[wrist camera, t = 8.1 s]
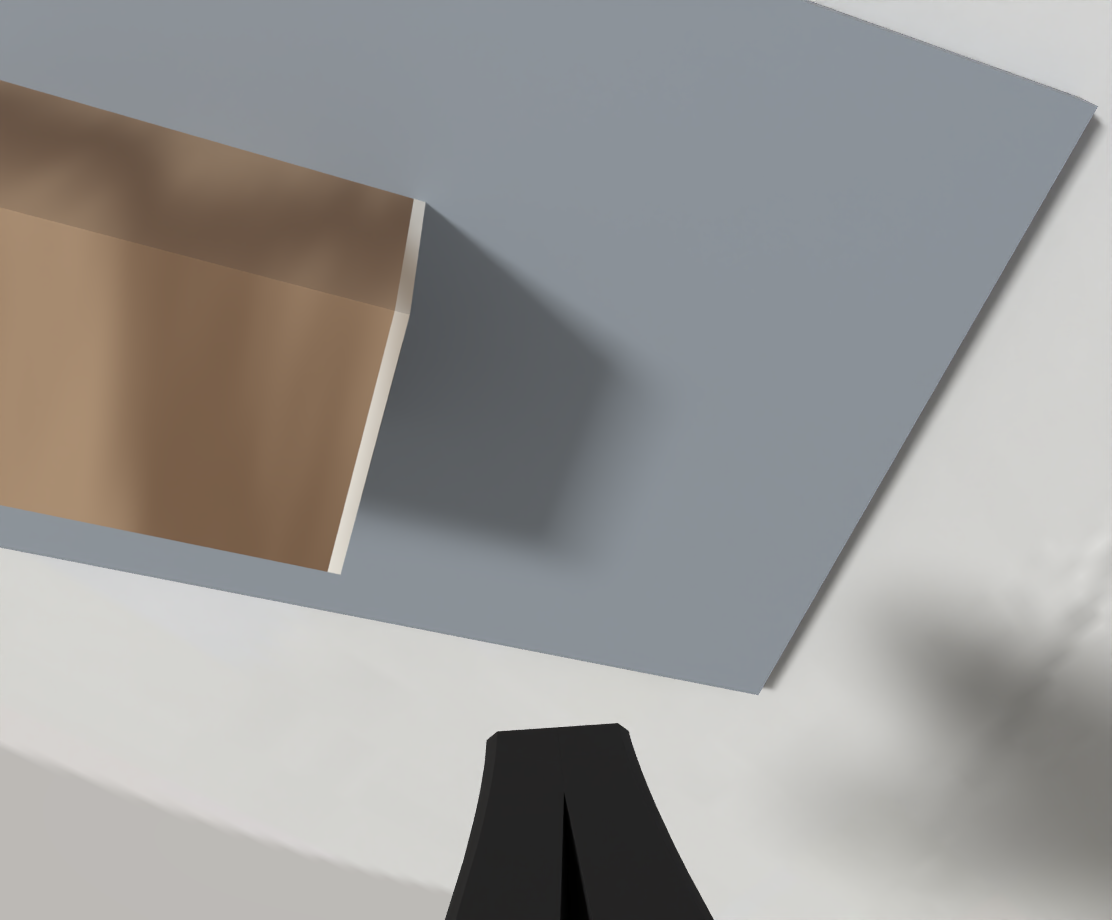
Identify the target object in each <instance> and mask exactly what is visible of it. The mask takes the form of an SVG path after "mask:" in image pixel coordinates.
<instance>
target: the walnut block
mask: <svg viewBox="0 0 1112 920" xmlns="http://www.w3.org/2000/svg"><path fill="white" fill-rule="evenodd" d="M425 203H426V202H423V201H420V200H416V199H413V198H409V197H406V196H402V195H399V194H395V193H392V192H388V191H385V190H381V189H378V188H374V187H371V186H367V185H364V184H361V183H357V182H354V181H350V180H347V179H343V178H340V177H336V176H333V175H329V174H326V173H322V172H319V171H315V170H312V169H308V168H305V167H301V166H298V165H294V164H291V163H287V162H284V161H280V160H277V159H273V158H270V157H266V156H263V155H260V154H256V153H253V152H249V151H246V150H242V149H239V148H235V147H232V146H228V145H225V144H221V143H218V142H214V141H211V140H207V139H204V138H200V137H197V136H193V135H190V134H186V133H183V132H179V131H176V130H172V129H169V128H165V127H162V126H159V125H155V124H152V123H148V122H145V121H141V120H138V119H134V118H131V117H127V116H124V115H120V114H117V113H113V112H110V111H106V110H103V109H99V108H96V107H92V106H89V105H85V104H82V103H78V102H75V101H71V100H68V99H64V98H61V97H57V96H54V95H51V94H47V93H44V92H40V91H37V90H33V89H30V88H26V87H23V86H19V85H16V84H12V83H9V82H5V81H2V80H0V505H2V506H7V507H12V508H17V509H22V510H26V511H31V512H36V513H41V514H46V515H51V516H56V517H61V518H66V519H71V520H75V521H80V522H85V523H90V524H95V525H100V526H105V527H110V528H115V529H120V530H125V531H129V532H134V533H139V534H144V535H149V536H154V537H159V538H164V539H169V540H174V541H178V542H183V543H188V544H193V545H198V546H203V547H208V548H213V549H218V550H223V551H227V552H232V553H237V554H242V555H247V556H252V557H257V558H262V559H267V560H272V561H276V562H281V563H286V564H291V565H296V566H301V567H306V568H311V569H316V570H321V571H325V572H330V573H335V574H340V575H341V571H342V567H343V564H344V560H345V556H346V552H347V549H348V545H349V541H350V537H351V534H352V530H353V526H354V522H355V519H356V515H357V511H358V507H359V504H360V500H361V498H362V494H363V490H364V486H365V483H366V479H367V475H368V472H369V468H370V464H371V460H372V457H373V453H374V449H375V445H376V442H377V438H378V434H379V430H380V427H381V423H382V419H383V415H384V412H385V408H386V404H387V400H388V397H389V393H390V389H391V385H392V382H393V378H394V374H395V370H396V367H397V363H398V359H399V355H400V352H401V348H402V344H403V339H404V335H405V331H406V327H407V324H408V320H409V316H410V310H411V303H412V296H413V289H414V281H415V274H416V267H417V260H418V253H419V246H420V238H421V231H422V224H423V217H424V210H425Z"/></svg>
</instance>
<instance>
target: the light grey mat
mask: <svg viewBox="0 0 1112 920" xmlns="http://www.w3.org/2000/svg"><path fill="white" fill-rule="evenodd" d="M0 80H2V81H5V82H9V83H12V84H16V85H19V86H23V87H26V88H30V89H33V90H37V91H40V92H44V93H47V94H51V95H54V96H57V97H61V98H64V99H68V100H71V101H75V102H78V103H82V104H85V105H89V106H92V107H96V108H99V109H103V110H106V111H110V112H113V113H117V114H120V115H124V116H127V117H131V118H134V119H138V120H141V121H145V122H148V123H152V124H155V125H159V126H162V127H165V128H169V129H172V130H176V131H179V132H183V133H186V134H190V135H193V136H197V137H200V138H204V139H207V140H211V141H214V142H218V143H221V144H225V145H228V146H232V147H235V148H239V149H242V150H246V151H249V152H253V153H256V154H260V155H263V156H266V157H270V158H273V159H277V160H280V161H284V162H287V163H291V164H294V165H298V166H301V167H305V168H308V169H312V170H315V171H319V172H322V173H326V174H329V175H333V176H336V177H340V178H343V179H347V180H350V181H354V182H357V183H361V184H364V185H367V186H371V187H374V188H378V189H381V190H385V191H388V192H392V193H395V194H399V195H402V196H406V197H409V198H413V199H416V200H420V201H423V202H426V203H425V210H424V217H423V224H422V231H421V238H420V246H419V253H418V260H417V267H416V274H415V281H414V289H413V296H412V303H411V310H410V316H409V320H408V324H407V327H406V331H405V335H404V339H403V344H402V348H401V352H400V355H399V359H398V363H397V367H396V370H395V374H394V378H393V382H392V385H391V389H390V393H389V397H388V400H387V404H386V408H385V412H384V415H383V419H382V423H381V427H380V430H379V434H378V438H377V442H376V445H375V449H374V453H373V457H372V460H371V464H370V468H369V472H368V475H367V479H366V483H365V486H364V490H363V494H362V498H361V500H360V504H359V507H358V511H357V515H356V519H355V522H354V526H353V530H352V534H351V537H350V541H349V545H348V549H347V552H346V556H345V560H344V564H343V567H342V571H341V575H340V574H335V573H330V572H325V571H321V570H316V569H311V568H306V567H301V566H296V565H291V564H286V563H281V562H276V561H272V560H267V559H262V558H257V557H252V556H247V555H242V554H237V553H232V552H227V551H223V550H218V549H213V548H208V547H203V546H198V545H193V544H188V543H183V542H178V541H174V540H169V539H164V538H159V537H154V536H149V535H144V534H139V533H134V532H129V531H125V530H120V529H115V528H110V527H105V526H100V525H95V524H90V523H85V522H80V521H75V520H71V519H66V518H61V517H56V516H51V515H46V514H41V513H36V512H31V511H26V510H22V509H17V508H12V507H7V506H2V505H0V547H1V548H6V549H11V550H16V551H21V552H26V553H31V554H37V555H42V556H47V557H52V558H57V559H62V560H67V561H73V562H78V563H83V564H88V565H93V566H98V567H103V568H108V569H114V570H119V571H124V572H129V573H134V574H139V575H144V576H150V577H155V578H160V579H165V580H170V581H175V582H180V583H186V584H191V585H196V586H201V587H206V588H211V589H216V590H221V591H227V592H232V593H237V594H242V595H247V596H252V597H257V598H263V599H268V600H273V601H278V602H283V603H288V604H293V605H298V606H304V607H309V608H314V609H319V610H324V611H329V612H334V613H340V614H345V615H350V616H355V617H360V618H365V619H370V620H376V621H381V622H386V623H391V624H396V625H401V626H406V627H411V628H417V629H422V630H427V631H432V632H437V633H442V634H447V635H453V636H458V637H463V638H468V639H473V640H478V641H483V642H489V643H494V644H499V645H504V646H509V647H514V648H519V649H524V650H530V651H535V652H540V653H545V654H550V655H555V656H560V657H566V658H571V659H576V660H581V661H586V662H591V663H596V664H601V665H607V666H612V667H617V668H622V669H627V670H632V671H637V672H643V673H648V674H653V675H658V676H663V677H668V678H673V679H679V680H684V681H689V682H694V683H699V684H704V685H709V686H714V687H720V688H725V689H730V690H735V691H740V692H745V693H750V694H756V695H759V693H760V691H761V689H762V688H763V686H764V684H765V683H766V681H767V679H768V677H769V676H770V674H771V672H772V670H773V669H774V667H775V665H776V664H777V662H778V660H779V658H780V657H781V655H782V653H783V651H784V650H785V648H786V646H787V644H788V643H789V641H790V639H791V638H792V636H793V634H794V632H795V631H796V629H797V627H798V625H799V624H800V622H801V620H802V618H803V617H804V615H805V613H806V612H807V610H808V608H809V606H810V605H811V603H812V601H813V599H814V598H815V596H816V594H817V592H818V591H819V589H820V587H821V586H822V584H823V582H824V580H825V579H826V577H827V575H828V573H829V572H830V570H831V568H832V566H833V565H834V563H835V561H836V560H837V558H838V556H839V554H840V553H841V551H842V549H843V547H844V546H845V544H846V542H847V540H848V539H849V537H850V535H851V534H852V532H853V530H854V528H855V527H856V525H857V523H858V521H859V520H860V518H861V516H862V514H863V513H864V511H865V509H866V508H867V506H868V504H869V502H870V501H871V499H872V497H873V495H874V494H875V492H876V490H877V488H878V487H879V485H880V483H881V482H882V480H883V478H884V476H885V475H886V473H887V471H888V469H889V468H890V466H891V464H892V463H893V461H894V459H895V457H896V456H897V454H898V452H899V450H900V449H901V447H902V445H903V443H904V442H905V440H906V438H907V437H908V435H909V433H910V431H911V430H912V428H913V426H914V424H915V423H916V421H917V419H918V417H919V416H920V414H921V412H922V411H923V409H924V407H925V405H926V404H927V402H928V400H929V398H930V397H931V395H932V393H933V391H934V390H935V388H936V386H937V385H938V383H939V381H940V379H941V378H942V376H943V374H944V372H945V371H946V369H947V367H948V365H949V364H950V362H951V360H952V359H953V357H954V355H955V353H956V352H957V350H958V348H959V346H960V345H961V343H962V341H963V339H964V338H965V336H966V334H967V333H968V331H969V329H970V327H971V326H972V324H973V322H974V320H975V319H976V317H977V315H978V313H979V312H980V310H981V308H982V307H983V305H984V303H985V301H986V300H987V298H988V296H989V294H990V293H991V291H992V289H993V287H994V286H995V284H996V282H997V281H998V279H999V277H1000V275H1001V274H1002V272H1003V270H1004V268H1005V267H1006V265H1007V263H1008V262H1009V260H1010V258H1011V256H1012V255H1013V253H1014V251H1015V249H1016V248H1017V246H1018V244H1019V242H1020V241H1021V239H1022V237H1023V236H1024V234H1025V232H1026V230H1027V229H1028V227H1029V225H1030V223H1031V222H1032V220H1033V218H1034V216H1035V215H1036V213H1037V211H1038V210H1039V208H1040V206H1041V204H1042V203H1043V201H1044V199H1045V197H1046V196H1047V194H1048V192H1049V190H1050V189H1051V187H1052V185H1053V184H1054V182H1055V180H1056V178H1057V177H1058V175H1059V173H1060V171H1061V170H1062V168H1063V166H1064V164H1065V163H1066V161H1067V159H1068V158H1069V156H1070V154H1071V152H1072V151H1073V149H1074V147H1075V145H1076V144H1077V142H1078V140H1079V138H1080V137H1081V135H1082V133H1083V132H1084V130H1085V128H1086V126H1087V125H1088V123H1089V121H1090V119H1091V118H1092V116H1093V114H1094V112H1095V111H1096V109H1097V107H1098V106H1096V105H1094V104H1092V103H1090V102H1088V101H1086V100H1084V99H1082V98H1080V97H1077V96H1074V95H1071V94H1068V93H1066V92H1063V91H1060V90H1057V89H1054V88H1052V87H1049V86H1046V85H1043V84H1040V83H1038V82H1035V81H1032V80H1029V79H1026V78H1024V77H1021V76H1018V75H1015V74H1012V73H1010V72H1007V71H1004V70H1001V69H998V68H996V67H993V66H990V65H987V64H984V63H982V62H979V61H976V60H973V59H970V58H968V57H965V56H962V55H959V54H957V53H954V52H951V51H948V50H945V49H943V48H940V47H937V46H934V45H931V44H929V43H926V42H923V41H920V40H917V39H915V38H912V37H909V36H906V35H903V34H901V33H898V32H895V31H892V30H889V29H887V28H884V27H881V26H878V25H875V24H873V23H870V22H867V21H864V20H861V19H859V18H856V17H853V16H850V15H847V14H845V13H842V12H839V11H836V10H833V9H831V8H828V7H825V6H822V5H819V4H817V3H814V2H811V1H808V0H0Z"/></svg>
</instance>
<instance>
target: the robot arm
mask: <svg viewBox="0 0 1112 920" xmlns="http://www.w3.org/2000/svg"><path fill="white" fill-rule="evenodd" d="M557 728H558V729H557ZM445 920H714V919H713V917H712V916H711V914H710V912H709V910H708V908H707V906H706V904H705V903H704V901H703V899H702V897H701V895H700V893H699V891H698V890H697V888H696V886H695V884H694V882H693V880H692V879H691V877H690V875H689V873H688V871H687V869H686V867H685V865H684V863H683V861H682V859H681V857H680V855H679V853H678V851H677V849H676V847H675V845H674V843H673V841H672V839H671V837H670V835H669V833H668V831H667V828H666V826H665V824H664V822H663V820H662V818H661V815H660V813H659V811H658V809H657V807H656V804H655V802H654V800H653V797H652V795H651V793H650V790H649V788H648V786H647V783H646V781H645V778H644V776H643V773H642V771H641V768H640V765H639V762H638V760H637V757H636V754H635V751H634V748H633V745H632V742H631V738H630V735H629V731H628V730H626V729H625V728H624V727H622V726H621V725H620V724H618V723H614V724H599V725H585V726H570V727H556V728H541V729H527V730H512V731H498V732H496V733H495V734H494V735H493V736H491V737H490V738H489V739H488V740H487V743H486V755H485V765H484V771H483V777H482V783H481V789H480V794H479V799H478V804H477V809H476V813H475V817H474V822H473V825H472V829H471V833H470V837H469V841H468V845H467V849H466V853H465V857H464V860H463V863H462V867H461V870H460V873H459V876H458V880H457V883H456V886H455V889H454V892H453V896H452V899H451V902H450V906H449V909H448V912H447V915H446V918H445Z"/></svg>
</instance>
